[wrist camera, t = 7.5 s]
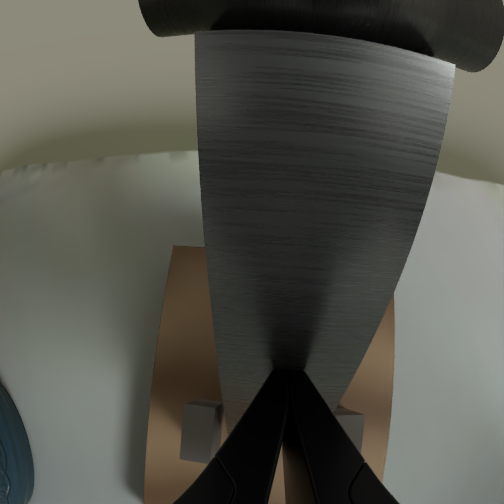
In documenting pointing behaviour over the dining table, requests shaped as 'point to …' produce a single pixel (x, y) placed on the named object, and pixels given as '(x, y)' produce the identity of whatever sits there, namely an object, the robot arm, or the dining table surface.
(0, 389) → the canister
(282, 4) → the lever
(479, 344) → the dining table surface
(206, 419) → the board
